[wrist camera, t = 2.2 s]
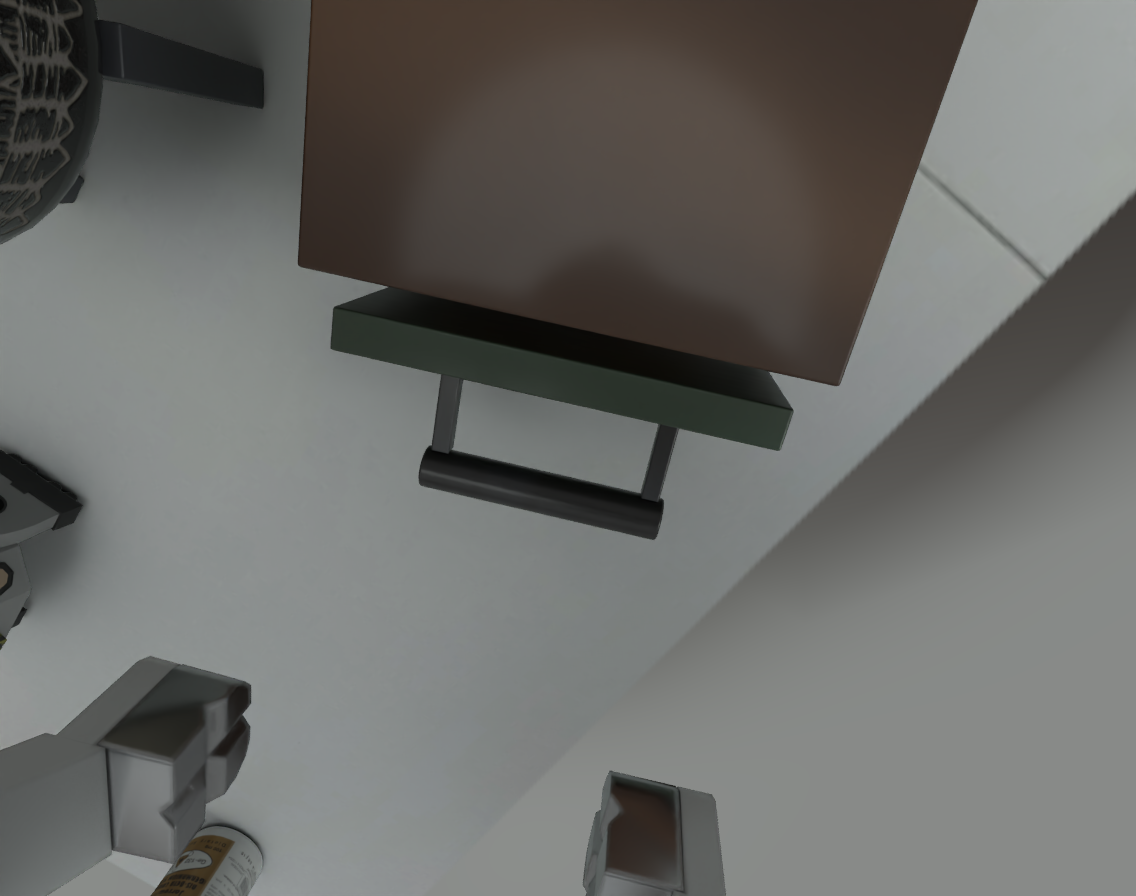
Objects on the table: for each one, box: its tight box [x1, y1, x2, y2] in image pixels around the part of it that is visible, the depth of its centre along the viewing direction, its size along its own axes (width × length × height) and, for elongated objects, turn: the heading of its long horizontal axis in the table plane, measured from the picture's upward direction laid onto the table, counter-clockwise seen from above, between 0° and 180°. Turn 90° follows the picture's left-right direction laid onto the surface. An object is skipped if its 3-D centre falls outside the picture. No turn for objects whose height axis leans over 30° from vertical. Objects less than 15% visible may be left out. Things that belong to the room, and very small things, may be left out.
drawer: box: [331, 287, 793, 540], centre depth 20 cm, size 21×12×8 cm, turn 169°
